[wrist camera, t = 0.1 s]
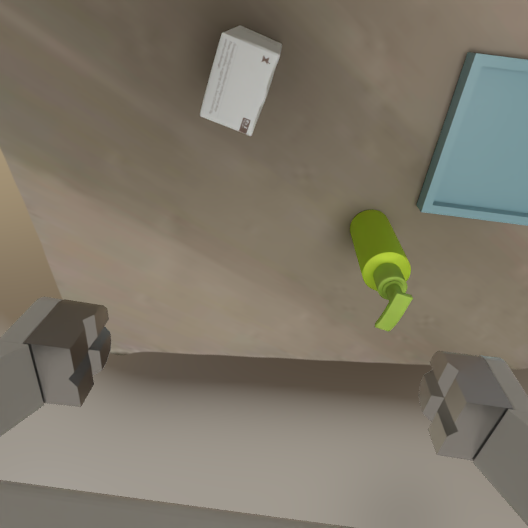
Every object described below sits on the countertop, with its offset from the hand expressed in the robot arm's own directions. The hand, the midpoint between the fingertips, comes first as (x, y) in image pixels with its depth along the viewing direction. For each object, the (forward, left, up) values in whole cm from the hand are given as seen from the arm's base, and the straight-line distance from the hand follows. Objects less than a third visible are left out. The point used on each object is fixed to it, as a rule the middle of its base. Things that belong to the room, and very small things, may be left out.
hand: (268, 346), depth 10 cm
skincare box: (-2, -5, -48) cm, 48 cm away
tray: (+3, +31, -48) cm, 57 cm away
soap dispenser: (+18, +15, -48) cm, 54 cm away
